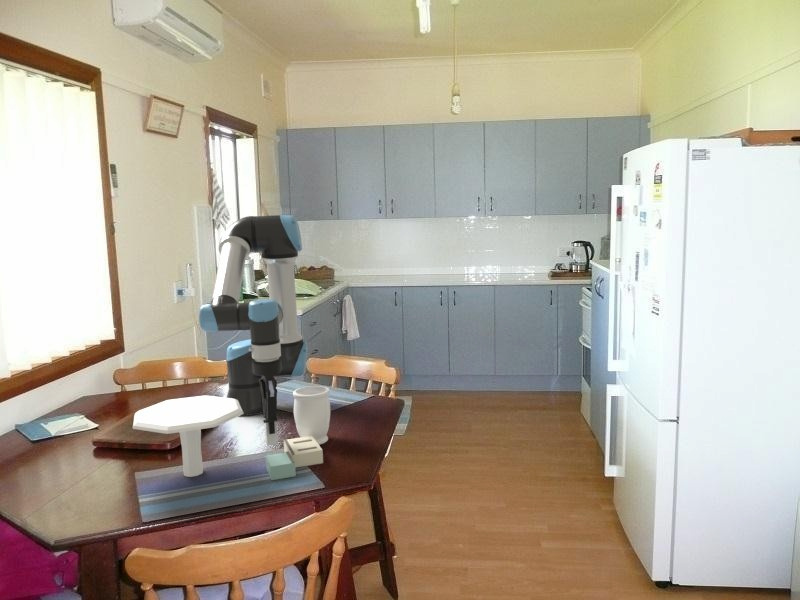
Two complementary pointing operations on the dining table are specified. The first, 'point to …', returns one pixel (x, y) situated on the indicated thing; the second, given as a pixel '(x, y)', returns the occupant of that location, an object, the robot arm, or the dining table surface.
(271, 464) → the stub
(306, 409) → the jar
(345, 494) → the dining table surface
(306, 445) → the cream slotted block
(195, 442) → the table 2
